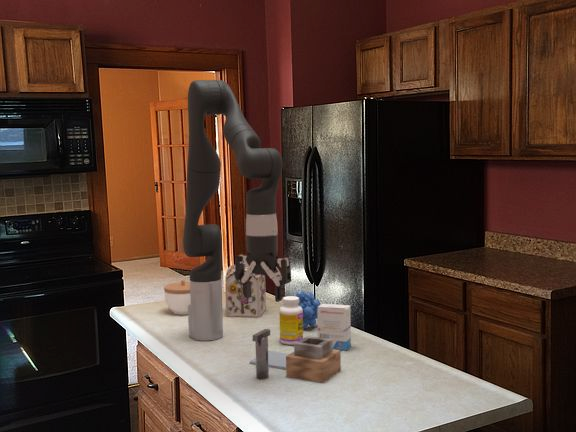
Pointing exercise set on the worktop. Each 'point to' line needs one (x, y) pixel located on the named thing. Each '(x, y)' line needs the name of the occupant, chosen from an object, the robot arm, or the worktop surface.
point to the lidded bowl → (178, 297)
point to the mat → (275, 360)
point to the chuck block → (313, 359)
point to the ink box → (335, 325)
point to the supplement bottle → (291, 321)
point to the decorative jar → (236, 299)
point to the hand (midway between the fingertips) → (263, 299)
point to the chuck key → (262, 353)
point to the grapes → (308, 308)
